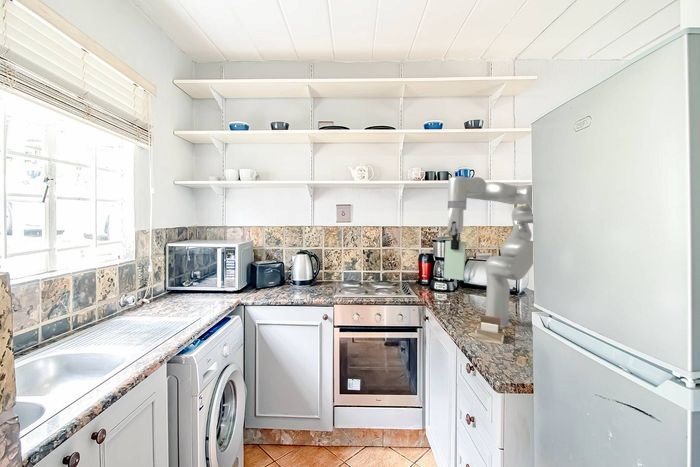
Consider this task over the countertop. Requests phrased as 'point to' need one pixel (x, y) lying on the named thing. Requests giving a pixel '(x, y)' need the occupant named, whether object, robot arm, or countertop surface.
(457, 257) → the green panel
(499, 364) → the countertop surface
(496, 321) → the walnut offcut
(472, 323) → the shard
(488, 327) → the white offcut
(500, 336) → the rack
